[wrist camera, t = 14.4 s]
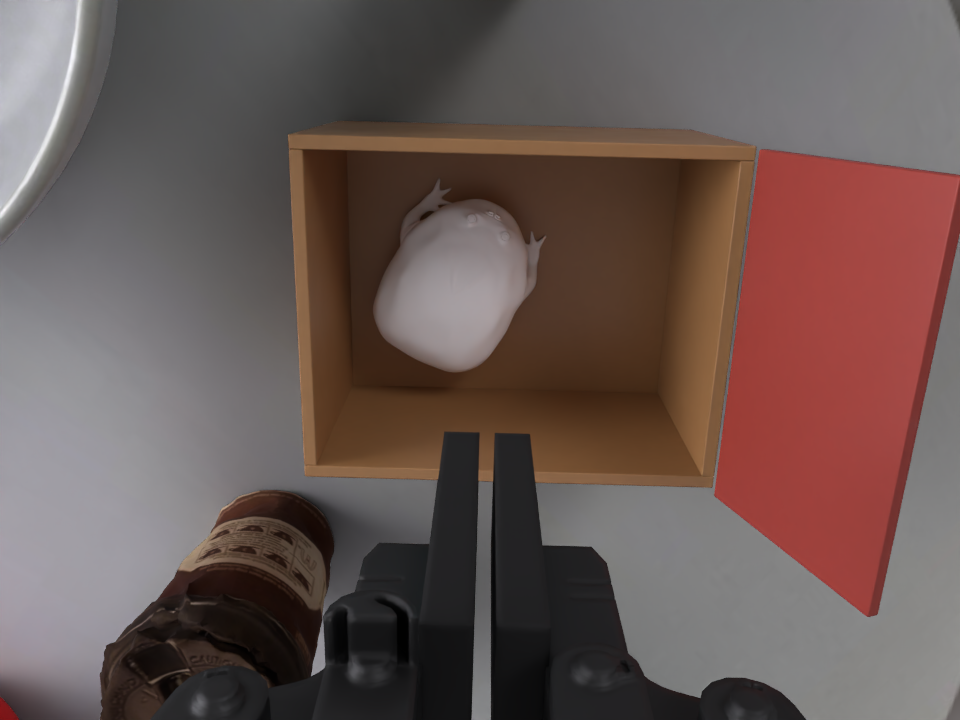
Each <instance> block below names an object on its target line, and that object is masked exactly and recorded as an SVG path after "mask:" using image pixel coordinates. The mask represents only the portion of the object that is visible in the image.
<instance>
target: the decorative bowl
mask: <svg viewBox="0 0 960 720" xmlns="http://www.w3.org/2000/svg"><path fill="white" fill-rule="evenodd" d="M117 6H118V0H0V245H1V244H2V243H3V242H4V241H6V240H7V239H8V238H9V237H10V236H11V235H12V234H13V233H14V232H15V231H16V230H17V229H18V228H19V227H20V226H21V225H22V224H23V222H24V221H25V220H26V219H27V218H28V217H29V215H30V214H31V213H32V212H33V211H34V209H35V208H36V207H37V206H38V205H39V204H40V202H41V201H42V200H43V199H44V197H45V196H46V195H47V193H48V192H49V190H50V189H51V187H52V186H53V185H54V183H55V182H56V180H57V179H58V177H59V176H60V175H61V173H62V172H63V170H64V169H65V167H66V165H67V163H68V162H69V160H70V158H71V156H72V155H73V153H74V151H75V149H76V148H77V146H78V144H79V142H80V140H81V138H82V136H83V134H84V132H85V129H86V127H87V125H88V123H89V121H90V118H91V116H92V114H93V111H94V108H95V106H96V103H97V100H98V97H99V94H100V92H101V89H102V86H103V82H104V78H105V75H106V71H107V67H108V63H109V60H110V55H111V49H112V44H113V38H114V33H115V25H116V15H117Z"/></svg>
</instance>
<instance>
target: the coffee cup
mask: <svg viewBox="0 0 960 720" xmlns="http://www.w3.org/2000/svg"><path fill="white" fill-rule="evenodd" d="M333 552H334V539H333V535H332V532H331V529H330V526H329V523H328V521H327V519H326V517H325V516H324V515H323V513H322V512H321V511H320V510H319V509H318V508H317V507H316V506H314V505H313V504H311V503H310V502H308V501H306V500H305V499H303V498H301V497H300V496H298V495H296V494H293V493H290V492H285V491H278V490H261V491H256V492H253V493H249V494H245V495H241V496H239V497H237V498H236V499H235V500H234V501H233V502H231V503H230V504H228V505H227V506H225V507H223V508H222V509H221V511H220V513H219V517H218V520H217V522H216V524H215V526H214V528H213V529H212V531H211V534H210V535H209V536H208V537H207V539H205V540H204V541H203V542H202V543H201V544H200V545H199V546H198V547H196V548H195V549H194V551H193V552H192V553H191V554H190V555H188V556H187V557H186V558H185V559H184V561H183V562H182V563H181V565H180V566H179V568H178V570H177V572H176V575H175V578H174V579H173V580H172V581H171V582H170V583H169V585H168V586H167V587H166V588H165V590H164V591H163V593H162V594H161V595H160V597H159V598H158V599H157V600H156V601H155V602H152V603H151V604H150V605H149V606H148V607H147V608H146V610H145V611H144V612H143V613H142V614H141V615H139V616H138V617H137V618H136V619H135V620H134V622H133V623H132V624H130V625H129V626H128V627H127V628H126V629H125V630H124V631H123V633H122V634H121V635H120V637H119V638H118V639H117V641H116V642H114V643H111V644H109V645H107V646H106V649H105V652H104V659H105V660H104V661H103V668H102V672H101V673H100V680H101V693H102V700H101V706H102V708H103V709H102V712H101V717H100V720H150V719H151V718H152V717H153V715H154V714H155V713H156V712H157V711H158V709H159V708H160V707H161V706H162V705H163V703H164V702H165V701H166V700H167V699H168V698H169V696H170V695H171V694H172V693H173V692H174V690H175V689H176V688H178V687H179V686H180V685H181V684H182V683H183V682H185V681H186V680H187V679H188V678H190V677H192V676H194V675H196V674H198V673H200V672H202V671H204V670H207V669H212V668H216V667H221V666H243V667H246V668H249V669H251V670H254V671H257V672H258V673H259V674H260V675H261V676H262V677H263V678H264V679H265V680H266V681H267V685H268V688H271V687H276V686H281V685H286V684H290V683H294V682H297V681H301V680H304V679H307V678H309V677H311V672H312V664H313V660H314V657H315V653H316V649H317V641H318V636H319V632H320V627H321V623H322V613H323V604H324V598H325V596H326V593H327V590H328V586H329V580H330V568H331V567H330V563H331V558H332V555H333Z"/></svg>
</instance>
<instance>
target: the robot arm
mask: <svg viewBox="0 0 960 720" xmlns="http://www.w3.org/2000/svg"><path fill="white" fill-rule="evenodd" d="M479 438H480V432H445V431H444V438H443V445H442V453H441V461H440V468H439V476H438V483H437V491H436V498H435V506H434V513H433V521H432V529H431V536H430V544H400V543H379V544H378V545H377V546H376V547H375V548H374V549H373V550H372V551H371V552H370V553H369V554H368V555H367V556H366V557H365V558H364V560H363V563H362V567H361V571H360V575H359V580H358V582H357V586H356V590H355V592H354V593H351V594H348V595H345V596H343V597H341V598H340V599H338V600H337V601H335V602H334V603H333V604H331V605H330V606H329V608H328V610H327V611H326V613H325V615H324V616H323V618H324V640H325V663H326V665H325V668H324V669H323V670H322V671H320V672H319V673H317V674H315V675H313V676H311V677H309V678H307V679H304V680H301V681H297V682H294V683H290V684H286V685H281V686H276V687H271V688H268V685H267V681H266V680H265V679H264V678H263V677H262V676H261V675H260V674H259V673H258V672H257V671H254V670H251V669H249V668H246V667H243V666H221V667H216V668H212V669H207V670H204V671H202V672H200V673H198V674H196V675H194V676H192V677H190V678H188V679H187V680H186V681H185V682H183V683H182V684H181V685H180V686H179V687H178V688H176V689H175V690H174V692H173V693H172V694H171V695H170V696H169V698H168V699H167V700H166V701H165V702H164V703H163V705H162V706H161V707H160V708H159V709H158V711H157V712H156V713H155V714H154V715H153V717H152V718H151V719H150V720H471V715H472V682H473V649H474V617H475V584H476V552H477V515H478V477H479ZM614 597H615V596H614V592H613V588H612V585H611V579H610V575H609V571H608V567H607V563H606V562H605V561H604V560H603V559H602V558H601V557H600V555H599V554H598V553H597V552H596V551H595V550H594V549H593V548H592V547H579V546H543V545H542V539H541V530H540V521H539V512H538V502H537V493H536V484H535V475H534V466H533V457H532V448H531V439H530V434H519V433H495V438H494V468H493V499H492V529H491V720H806V719H805V718H804V716H803V715H802V714H801V713H800V711H799V710H798V709H797V708H796V706H795V705H794V704H793V703H792V702H791V701H790V700H789V699H788V698H786V697H785V696H784V695H783V694H782V693H781V692H779V691H778V690H776V689H774V688H772V687H770V686H768V685H766V684H764V683H762V682H758V681H754V680H750V679H747V678H724V679H721V680H717V681H714V682H711V683H710V684H709V685H708V686H707V687H706V688H705V689H704V690H703V691H702V695H701V698H697V697H694V696H690V695H686V694H682V693H679V692H675V691H672V690H670V689H667V688H664V687H661V686H660V685H658V684H656V683H654V682H652V681H650V680H649V679H648V678H646V677H645V676H644V674H643V672H642V670H641V668H640V666H639V664H638V662H637V661H636V660H635V659H634V658H633V657H632V656H630V655H629V654H628V650H627V646H626V642H625V638H624V634H623V630H622V625H621V621H620V617H619V613H618V609H617V604H616V600H615V599H614Z"/></svg>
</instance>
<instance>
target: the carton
mask: <svg viewBox="0 0 960 720" xmlns="http://www.w3.org/2000/svg"><path fill="white" fill-rule="evenodd" d="M288 147H289V168H290V188H291V208H292V228H293V248H294V267H295V287H296V307H297V327H298V347H299V367H300V387H301V406H302V426H303V446H304V464H305V476H311V477H347V478H384V479H420V480H438V476H439V468H440V461H441V453H442V445H443V438H444V431H445V432H480V438H479V477H478V481H492V482H493V468H494V438H495V433H519V434H530V439H531V448H532V457H533V466H534V475H535V483H565V484H601V485H637V486H673V487H710V488H711V487H712V486H713V479H714V477H713V476H714V472H715V464H716V456H717V449H718V441H719V433H720V426H721V418H722V410H723V402H724V395H725V387H726V379H727V372H728V364H729V356H730V349H731V341H732V333H733V326H734V318H735V310H736V302H737V295H738V287H739V279H740V272H741V264H742V256H743V249H744V241H745V233H746V226H747V218H748V210H749V202H750V195H751V187H752V179H753V172H754V164H755V162H754V160H755V156H756V146H753V145H749V144H745V143H741V142H737V141H733V140H729V139H726V138H722V137H718V136H714V135H710V134H706V133H702V132H698V131H694V130H682V129H643V128H605V127H566V126H527V125H488V124H449V123H411V122H372V121H335V122H331V123H328V124H324V125H320V126H317V127H313V128H309V129H306V130H302V131H299V132H295V133H291V134H288ZM439 178H440V190H446V189H449V188H451V190H450V191H449V192H447V193H446V194H445V195H443V197H442V199H443V200H445V201H448V202H451V203H454V202H458V201H464V200H469V199H482V200H487V201H490V202H492V203H494V204H497V205H498V206H500V207H502V208H503V209H505V210H506V211H507V212H509V213H510V214H511V215H512V217H513V218H514V219H515V221H516V222H517V224H518V226H519V228H520V231H521V233H522V236H523V239H524V241H525V243H526V244H528V245H529V244H530V236H531V232H533V235H534V239H535V241H539V240H540V239H542V238H543V237H544V236H545V235H546V238H545V240H544V242H543V243H542V245H541V247H540V250H539V260H538V263H537V281H536V285H535V287H534V289H533V291H532V292H531V293H530V294H529V295H528V297H527V298H526V299H525V300H524V301H523V302H522V303H521V305H520V306H519V308H518V309H517V311H516V312H515V314H514V316H513V318H512V321H511V323H510V325H509V327H508V329H507V331H506V333H505V335H504V336H503V338H502V339H501V341H500V342H499V344H498V345H497V346H496V348H495V349H494V351H493V352H492V353H491V355H490V356H489V357H488V358H487V359H486V360H485V361H484V362H483V363H482V364H481V365H479V366H477V367H475V368H473V369H471V370H468V371H464V372H447V371H444V370H441V369H438V368H435V367H433V366H430V365H428V364H425V363H423V362H420V361H418V360H416V359H414V358H412V357H411V356H409V355H407V354H406V353H404V352H402V351H401V350H399V349H398V348H396V347H394V346H393V345H391V344H390V343H389V342H387V341H386V340H385V339H384V338H383V336H382V335H381V333H380V332H379V330H378V327H377V325H376V322H375V319H374V315H373V305H374V300H375V297H376V294H377V291H378V288H379V285H380V282H381V280H382V277H383V275H384V273H385V271H386V269H387V267H388V265H389V263H390V262H391V260H392V258H393V257H394V255H395V254H396V252H397V250H398V249H399V247H400V231H401V226H402V222H403V219H404V217H405V216H406V215H407V213H408V212H410V211H411V210H412V209H413V208H414V207H416V206H417V205H418V204H419V203H420V202H421V201H422V200H423V199H424V198H425V197H426V196H427V195H428V194H430V193H431V192H432V191H433V189H434V187H435V185H436V183H437V181H438V179H439ZM443 206H445V205H438V207H439V208H441V207H443ZM432 213H434V211H427V212H426V213H424V214H423V215H422V216H421V218H420V220H423V219H426V218H427V217H428V216H430V215H431V214H432Z"/></svg>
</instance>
